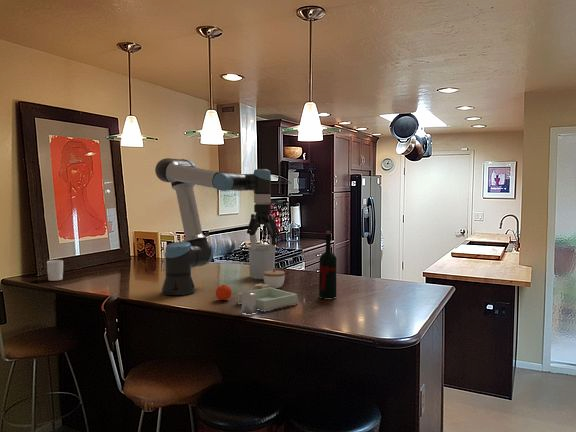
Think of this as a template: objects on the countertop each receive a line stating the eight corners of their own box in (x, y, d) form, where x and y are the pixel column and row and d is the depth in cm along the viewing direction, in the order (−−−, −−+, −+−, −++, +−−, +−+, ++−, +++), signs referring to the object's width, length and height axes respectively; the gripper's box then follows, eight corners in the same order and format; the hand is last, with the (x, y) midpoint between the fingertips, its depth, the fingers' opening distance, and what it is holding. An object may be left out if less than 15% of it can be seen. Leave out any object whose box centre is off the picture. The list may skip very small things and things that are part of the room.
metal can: (238, 313, 179) (238, 293, 178) (250, 310, 183) (250, 290, 182) (247, 316, 174) (247, 295, 174) (260, 313, 178) (260, 293, 178)
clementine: (216, 298, 203) (216, 282, 202) (232, 298, 203) (232, 282, 203) (214, 302, 195) (214, 286, 194) (231, 302, 195) (231, 286, 195)
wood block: (253, 296, 207) (253, 285, 207) (260, 294, 211) (260, 283, 211) (262, 297, 204) (262, 286, 204) (269, 295, 209) (269, 284, 208)
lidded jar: (265, 290, 218) (265, 271, 217) (261, 286, 228) (261, 267, 228) (287, 289, 221) (287, 270, 220) (281, 284, 231) (281, 266, 231)
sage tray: (237, 303, 193) (237, 293, 193) (270, 297, 205) (270, 287, 204) (263, 312, 179) (263, 301, 179) (297, 304, 191) (297, 294, 191)
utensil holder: (244, 279, 246) (244, 246, 245) (253, 274, 260) (253, 243, 259) (270, 280, 242) (270, 247, 241) (278, 275, 257) (278, 244, 256)
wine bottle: (314, 299, 201) (314, 232, 199) (323, 294, 210) (323, 230, 208) (330, 301, 197) (331, 233, 195) (339, 296, 206) (339, 231, 204)
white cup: (66, 278, 245) (66, 260, 245) (58, 281, 238) (57, 262, 237) (53, 278, 246) (52, 259, 246) (43, 280, 238) (43, 262, 238)
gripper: (287, 204, 197) (287, 252, 198) (251, 203, 215) (252, 247, 216) (274, 204, 192) (274, 254, 193) (239, 203, 210) (239, 248, 211)
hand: (262, 250), depth 204 cm, fingers open, 13 cm apart
